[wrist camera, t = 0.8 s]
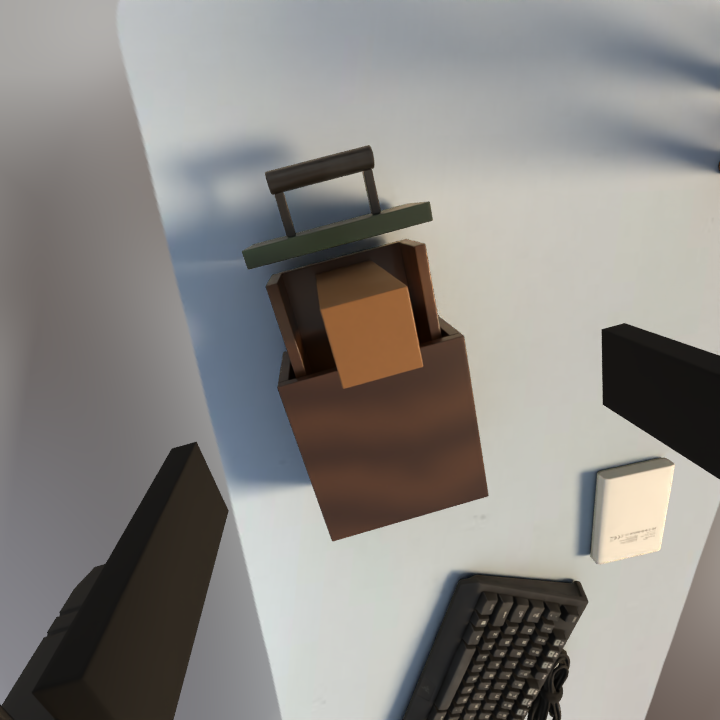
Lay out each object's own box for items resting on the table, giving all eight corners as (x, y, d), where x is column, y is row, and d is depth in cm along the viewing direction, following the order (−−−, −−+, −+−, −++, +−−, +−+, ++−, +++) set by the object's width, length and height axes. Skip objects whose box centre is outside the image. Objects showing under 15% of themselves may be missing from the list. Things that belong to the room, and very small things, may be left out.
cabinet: (282, 351, 35) (276, 387, 27) (432, 310, 35) (464, 335, 28) (327, 483, 40) (332, 542, 33) (456, 446, 40) (489, 496, 33)
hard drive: (664, 456, 44) (651, 540, 49) (594, 471, 44) (588, 555, 48) (676, 464, 43) (662, 551, 47) (605, 480, 42) (597, 566, 47)
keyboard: (461, 567, 46) (477, 604, 42) (618, 581, 51) (648, 615, 46) (381, 759, 57) (387, 804, 53) (515, 757, 62) (531, 798, 57)
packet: (314, 274, 31) (319, 309, 20) (371, 259, 31) (407, 285, 20) (330, 328, 32) (342, 389, 21) (383, 314, 32) (423, 367, 21)
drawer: (233, 186, 29) (216, 180, 23) (397, 143, 29) (418, 128, 24) (303, 397, 35) (303, 430, 30) (437, 360, 36) (460, 386, 30)
